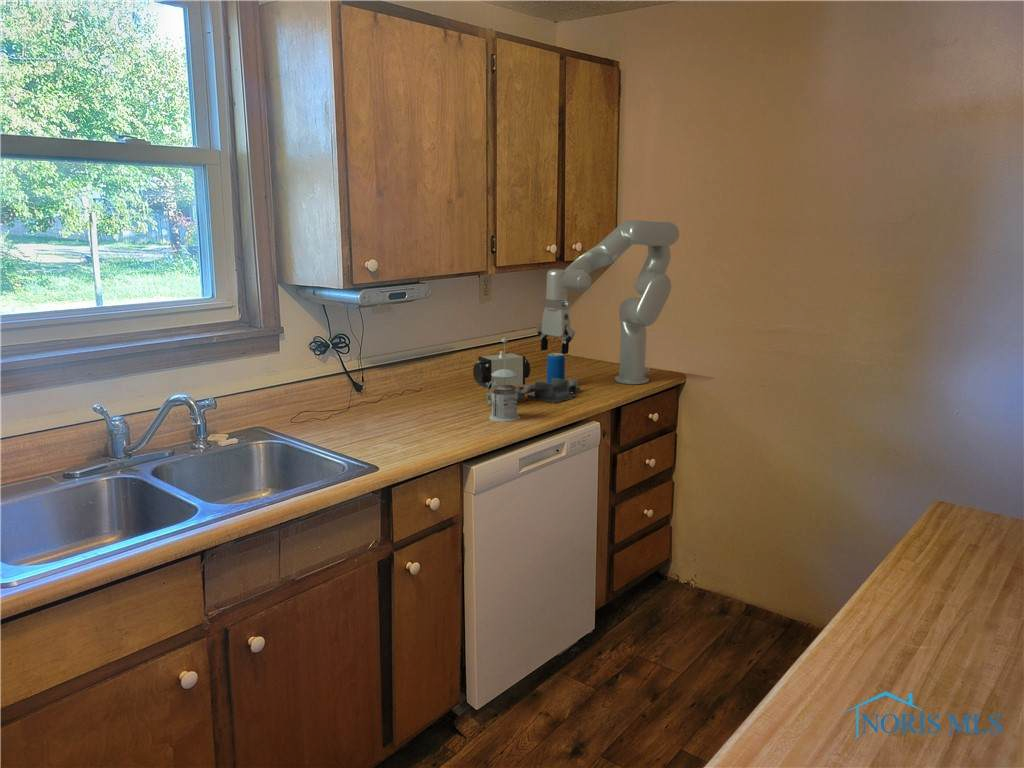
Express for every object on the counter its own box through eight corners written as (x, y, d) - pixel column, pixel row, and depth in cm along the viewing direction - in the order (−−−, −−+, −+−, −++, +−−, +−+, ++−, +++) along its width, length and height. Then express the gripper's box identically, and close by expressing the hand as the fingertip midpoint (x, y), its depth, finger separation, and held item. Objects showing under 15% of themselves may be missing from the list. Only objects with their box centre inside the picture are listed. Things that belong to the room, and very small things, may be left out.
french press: (526, 417, 236) (527, 338, 230) (499, 424, 228) (499, 342, 222) (504, 411, 243) (504, 334, 237) (477, 418, 235) (477, 338, 229)
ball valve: (517, 397, 261) (518, 346, 257) (530, 403, 254) (531, 350, 250) (471, 404, 252) (470, 351, 249) (483, 409, 245) (482, 355, 241)
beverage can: (547, 384, 282) (547, 352, 279) (564, 384, 281) (565, 352, 278) (546, 388, 275) (546, 355, 273) (564, 388, 275) (564, 356, 272)
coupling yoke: (555, 387, 276) (555, 371, 275) (588, 394, 267) (588, 377, 265) (510, 399, 259) (510, 381, 258) (543, 406, 249) (543, 388, 248)
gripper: (581, 306, 268) (579, 354, 272) (544, 301, 280) (542, 347, 283) (568, 307, 263) (566, 356, 267) (531, 302, 274) (529, 349, 278)
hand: (554, 351), depth 275 cm, fingers open, 9 cm apart
